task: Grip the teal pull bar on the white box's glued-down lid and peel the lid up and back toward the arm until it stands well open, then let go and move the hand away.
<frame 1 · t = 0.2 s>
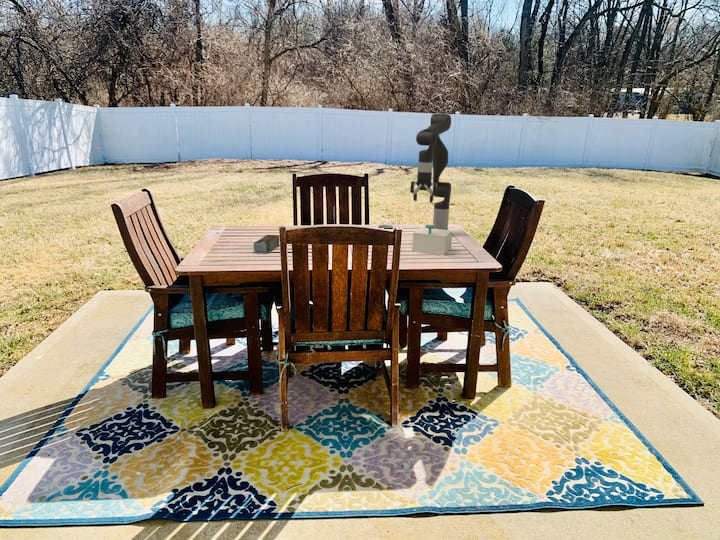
hand: (423, 201, 268), 28 cm above the table, tool pointing down, fingers open, 8 cm apart
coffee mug: (386, 243, 294), on the table
box: (431, 250, 281), on the table
lid: (433, 227, 277), point 13 cm above the table, hinge at 0.0°
beverage carton: (267, 249, 278), on the table
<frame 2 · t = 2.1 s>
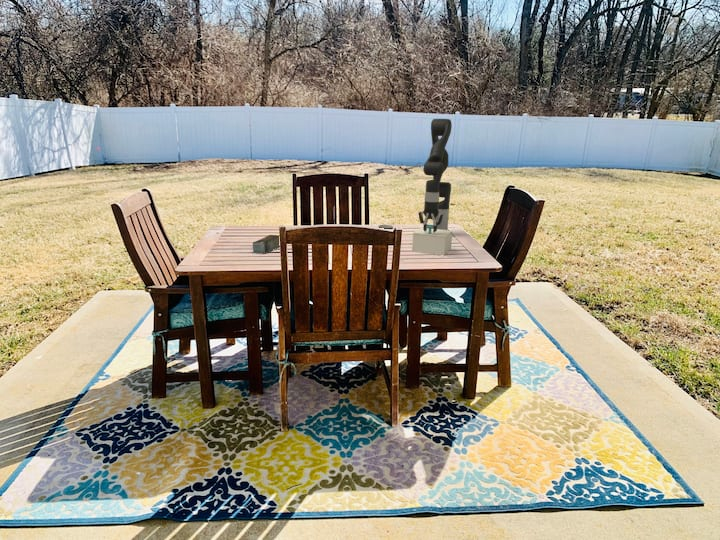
hand: (429, 231, 272), 12 cm above the table, tool pointing down, fingers closed on lid, 4 cm apart
lid: (433, 227, 277), point 13 cm above the table, hinge at 0.0°, touching gripper
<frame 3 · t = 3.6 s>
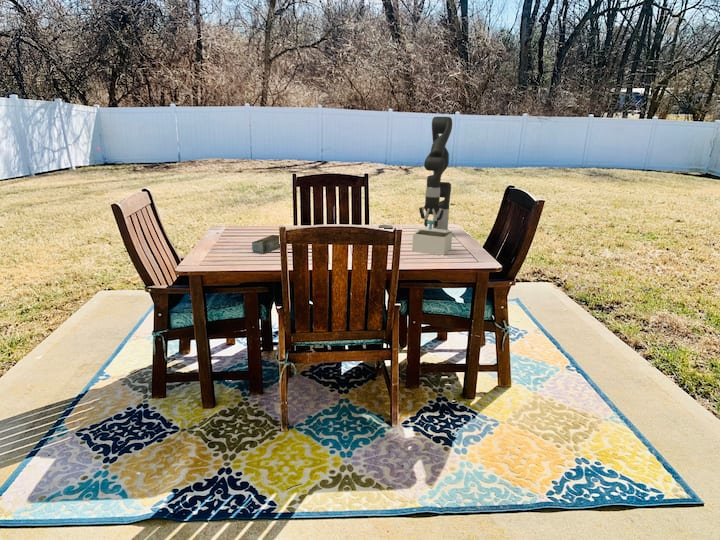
hand: (430, 226, 272), 14 cm above the table, tool pointing down, fingers closed on lid, 4 cm apart
lid: (433, 225, 277), point 14 cm above the table, hinge at 9.6°, touching gripper
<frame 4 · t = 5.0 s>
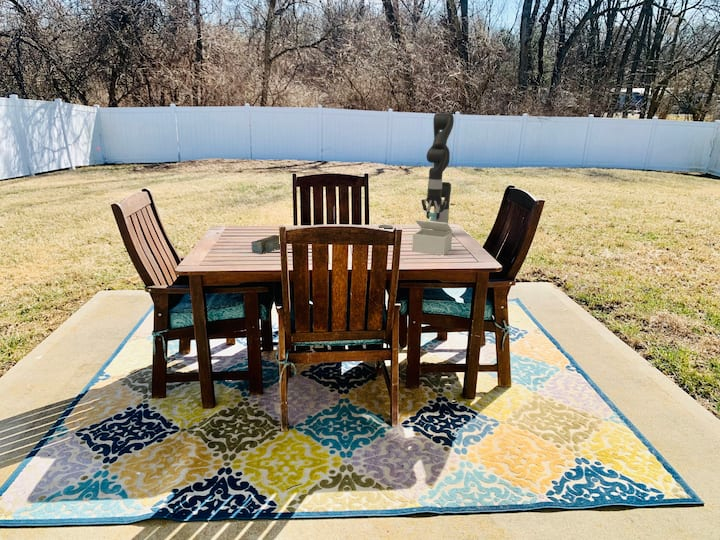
hand: (432, 218, 274), 18 cm above the table, tool pointing down, fingers closed on lid, 4 cm apart
lid: (434, 221, 278), point 16 cm above the table, hinge at 28.0°, touching gripper
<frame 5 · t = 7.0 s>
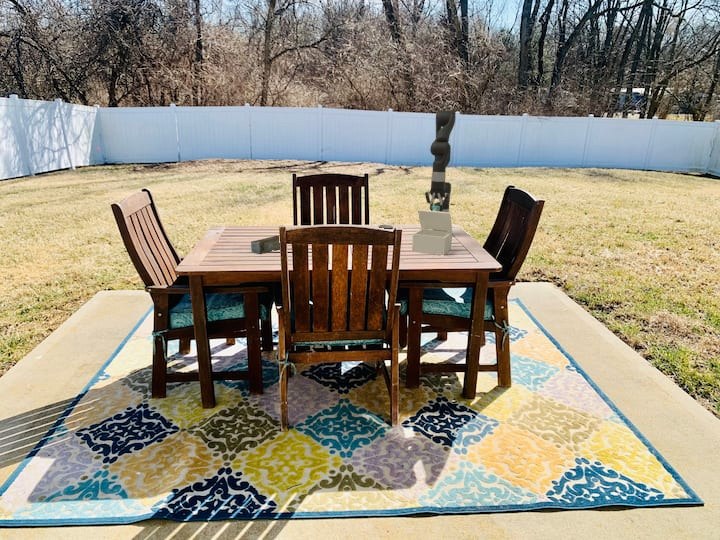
hand: (436, 211, 278), 22 cm above the table, tool pointing down, fingers closed on lid, 4 cm apart
lid: (436, 217, 280), point 18 cm above the table, hinge at 52.9°, touching gripper
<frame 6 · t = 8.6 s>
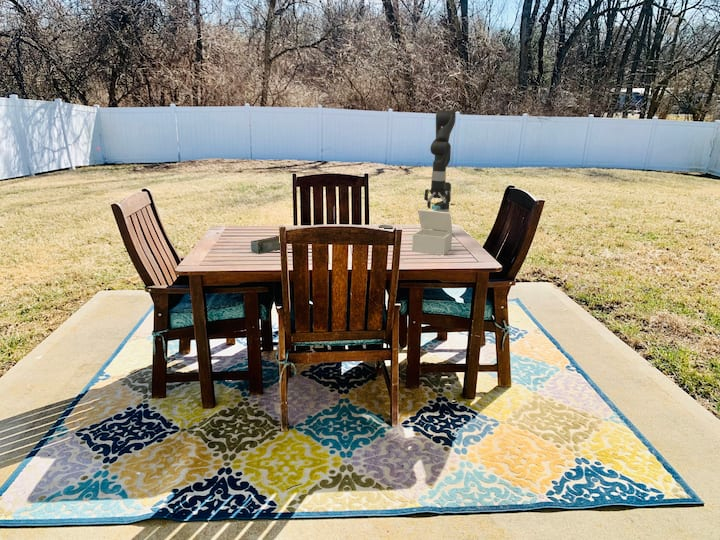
hand: (436, 208, 278), 23 cm above the table, tool pointing down, fingers open, 8 cm apart
lid: (436, 217, 280), point 18 cm above the table, hinge at 53.2°
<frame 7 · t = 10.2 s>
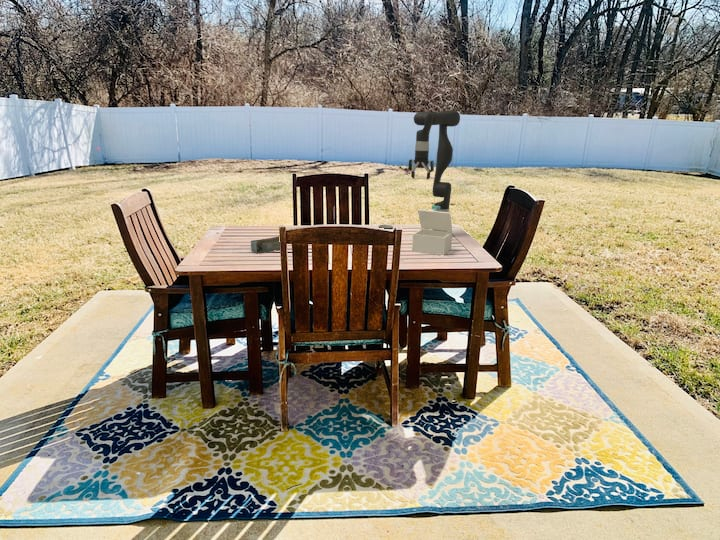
hand: (420, 178, 286), 38 cm above the table, tool pointing down, fingers open, 8 cm apart
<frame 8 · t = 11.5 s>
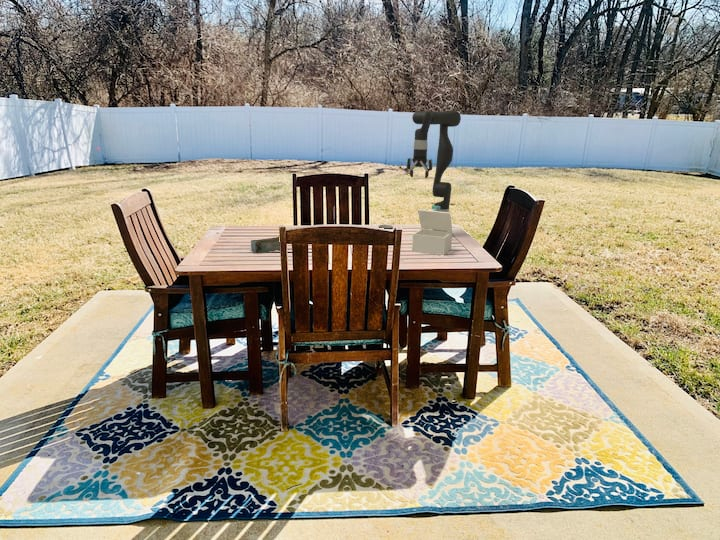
hand: (418, 177, 287), 38 cm above the table, tool pointing down, fingers open, 8 cm apart
at the end: lid at +53° (first picture: +0°); the gripper is holding nothing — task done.
